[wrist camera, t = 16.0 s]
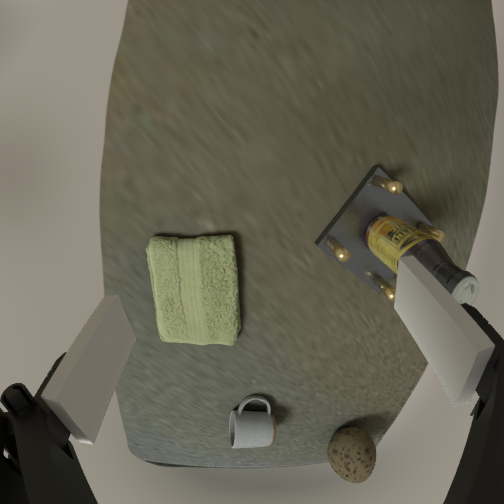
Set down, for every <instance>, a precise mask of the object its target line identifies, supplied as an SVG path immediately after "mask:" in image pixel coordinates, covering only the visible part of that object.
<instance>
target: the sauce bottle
mask: <svg viewBox="0 0 504 504" xmlns="http://www.w3.org/2000/svg"><path fill="white" fill-rule="evenodd" d="M366 241H367V245H368V247H369V248H370V250H371V251H372V253H373V254H374V255H375V256H377V257H378V258H379V259H380V260H381V261H382V262H383V263H385V264H386V265H387V266H388V267H389V268H390V269H391V270H392V271H394V272H395V273H396V274H398V260H399V258H400V257H406V256H414V257H415V258H416V259H417V260H418V261H419V262H420V263H421V264H422V265H423V266H424V267H425V268H426V269H427V270H428V271H429V272H430V273H431V274H432V275H433V276H434V277H435V278H436V279H437V280H438V281H439V282H440V283H441V284H442V286H443V287H444V288H445V289H446V290H447V291H448V292H449V293H450V294H451V295H452V296H453V297H454V298H455V299H456V301H457V302H458V303H459V304H463V303H467V304H469V305H471V306H472V304H473V303H474V301H475V300H476V298H477V295H478V292H479V283H478V281H477V279H476V278H475V276H473V275H472V274H471V273H470V272H468V271H463V270H462V269H460V268H459V267H457V266H456V265H455V264H454V263H453V262H452V260H451V259H450V257H449V256H448V254H447V253H446V251H445V250H444V248H443V247H442V245H441V244H440V242H439V241H438V240H436V239H434V238H433V237H431V236H429V235H427V234H426V233H424V232H422V231H420V230H419V229H417V228H415V227H413V226H412V225H410V224H408V223H406V222H404V221H402V220H400V219H398V218H396V217H393V216H389V215H382V216H379V217H378V218H376V219H375V220H373V221H372V222H371V223H370V225H369V227H368V230H367V233H366Z"/></svg>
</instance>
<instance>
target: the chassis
mask: <svg viewBox="0 0 504 504" xmlns="http://www.w3.org/2000/svg"><path fill="white" fill-rule="evenodd" d="M402 190H403V186H402V184H401V183H400V182H397V181H394V180H391V179H390V178H389V177H388V176H387V175H386V174H385V173H384V172H383V171H382V170H381V169H380V168H379V167H377V166H373V167H372V169H371V170H370V171H369V173H368V174H367V175H366V177H365V178H364V179H363V181H362V182H361V183H360V185H359V186H358V187H357V189H356V190H355V191H354V192H353V194H352V195H351V196H350V198H349V199H348V200H347V202H346V203H345V204H344V205H343V207H342V208H341V209H340V211H339V212H338V213H337V214H336V216H335V217H334V218H333V220H332V221H331V222H330V223H329V225H328V226H327V227H326V228H325V230H324V231H323V232H322V233H321V235H320V236H319V237H318V239H317V240H316V241H315V243H316V245H317V246H318V247H320V248H321V249H322V250H324V251H325V252H326V253H328V254H329V255H330V256H332V257H333V258H334V259H336V260H337V261H338V262H340V263H341V264H342V265H343V266H345V267H346V268H347V269H349V270H350V271H351V272H353V273H354V274H355V275H356V276H358V277H359V278H360V279H362V280H363V281H364V282H365V283H367V284H368V285H369V286H370V287H372V288H373V289H374V290H376V291H377V292H378V293H379V294H380V292H381V291H382V292H383V293H384V294H385V295H386V296H387V297H388V298H389V300H390V301H391V302H395V296H396V290H395V289H394V288H393V287H392V286H391V285H390V284H389V282H390V280H391V279H392V278H393V277H394V275H395V274H396V273H395V272H394V271H392V270H391V269H390V268H389V267H388V266H387V265H386V264H385V263H383V262H382V261H381V260H380V259H379V258H378V257H377V256H375V255H374V254H373V253H372V251H371V250H370V248H369V247H368V245H367V241H366V233H367V230H368V227H369V225H370V223H371V222H372V221H373V220H375V219H376V218H378V217H379V216H382V215H389V216H393V217H396V218H398V219H400V220H402V221H404V222H406V223H408V224H410V225H412V226H413V227H415V228H417V229H419V230H420V231H422V232H424V233H426V234H427V235H429V236H431V237H433V238H434V239H436V240H438V241H439V242H440V243H442V242H443V241H444V239H445V233H443V232H442V231H440V230H438V229H436V228H434V227H432V226H433V225H432V224H431V223H430V221H429V220H428V219H427V218H426V217H425V216H424V214H423V213H422V212H421V211H420V210H419V209H418V208H417V207H416V205H415V204H414V203H413V202H412V201H411V200H410V199H409V198H408V197H407V196H406V195H405V193H404V192H403V191H402Z"/></svg>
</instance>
